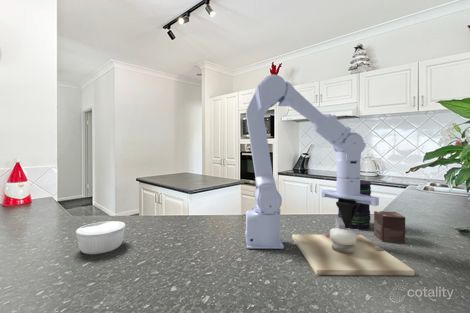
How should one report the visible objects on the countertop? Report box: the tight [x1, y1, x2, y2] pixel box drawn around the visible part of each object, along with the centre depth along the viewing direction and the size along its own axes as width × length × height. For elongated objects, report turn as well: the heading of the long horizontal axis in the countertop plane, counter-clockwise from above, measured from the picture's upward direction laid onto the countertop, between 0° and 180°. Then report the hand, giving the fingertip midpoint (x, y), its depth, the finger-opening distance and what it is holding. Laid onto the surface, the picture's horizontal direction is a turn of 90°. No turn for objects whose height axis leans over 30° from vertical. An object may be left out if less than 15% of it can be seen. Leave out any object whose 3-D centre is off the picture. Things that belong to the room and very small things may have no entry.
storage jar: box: [337, 180, 372, 231], centre depth 79 cm, size 10×10×15 cm
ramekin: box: [75, 220, 126, 255], centre depth 60 cm, size 11×11×5 cm
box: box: [373, 210, 406, 244], centre depth 68 cm, size 6×6×7 cm
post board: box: [291, 233, 416, 276], centre depth 58 cm, size 20×20×3 cm
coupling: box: [329, 216, 358, 245], centre depth 61 cm, size 12×6×3 cm, turn 163°
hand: (347, 227), depth 63 cm, fingers closed
